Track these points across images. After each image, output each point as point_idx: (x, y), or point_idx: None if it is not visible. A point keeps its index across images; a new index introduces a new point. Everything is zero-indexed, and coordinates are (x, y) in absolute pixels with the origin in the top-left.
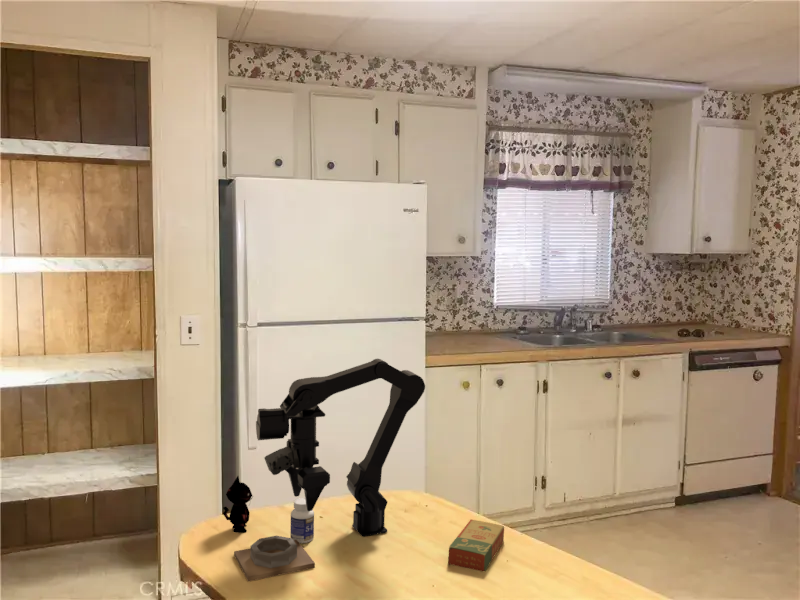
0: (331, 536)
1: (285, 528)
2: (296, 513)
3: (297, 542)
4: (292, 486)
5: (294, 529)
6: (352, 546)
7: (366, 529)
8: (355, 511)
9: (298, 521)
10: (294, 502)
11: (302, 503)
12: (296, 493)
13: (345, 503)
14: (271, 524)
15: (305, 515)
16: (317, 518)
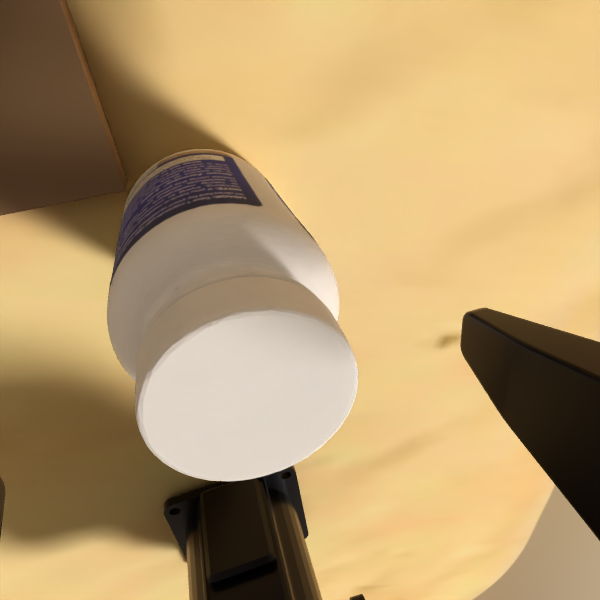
0: None
1: (389, 134)
2: (157, 276)
3: (68, 191)
4: (581, 362)
5: (142, 197)
6: (63, 466)
7: (192, 531)
8: (259, 567)
9: (116, 262)
10: (232, 315)
11: (173, 407)
12: (484, 346)
13: None
14: (486, 41)
15: (117, 355)
16: (438, 323)
